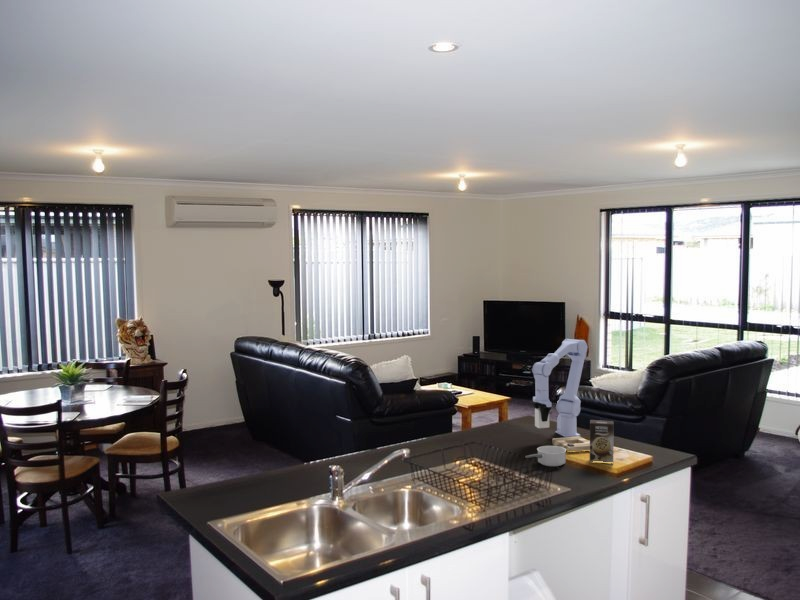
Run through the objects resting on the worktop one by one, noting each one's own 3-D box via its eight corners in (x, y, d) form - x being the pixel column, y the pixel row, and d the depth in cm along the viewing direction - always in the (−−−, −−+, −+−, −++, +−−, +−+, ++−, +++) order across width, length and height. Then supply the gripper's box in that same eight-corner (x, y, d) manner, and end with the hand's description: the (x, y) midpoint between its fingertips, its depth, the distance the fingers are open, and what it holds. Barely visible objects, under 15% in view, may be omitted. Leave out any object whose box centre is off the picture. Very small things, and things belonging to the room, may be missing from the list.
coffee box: (589, 463, 265) (589, 422, 264) (589, 458, 271) (589, 419, 271) (613, 464, 263) (613, 424, 262) (613, 460, 269) (613, 420, 268)
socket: (552, 444, 294) (552, 437, 294) (579, 441, 297) (579, 434, 297) (569, 453, 280) (568, 446, 279) (597, 450, 283) (597, 443, 282)
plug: (534, 426, 299) (534, 408, 298) (549, 425, 300) (549, 407, 300) (538, 428, 295) (538, 410, 294) (553, 427, 297) (553, 409, 296)
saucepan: (515, 467, 263) (515, 452, 263) (550, 457, 275) (550, 444, 274) (537, 474, 254) (537, 459, 253) (572, 464, 265) (572, 450, 265)
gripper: (526, 387, 303) (526, 417, 303) (540, 393, 289) (541, 424, 289) (540, 386, 304) (541, 416, 305) (555, 392, 290) (556, 423, 291)
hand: (542, 420), depth 297 cm, fingers closed on plug, 4 cm apart
